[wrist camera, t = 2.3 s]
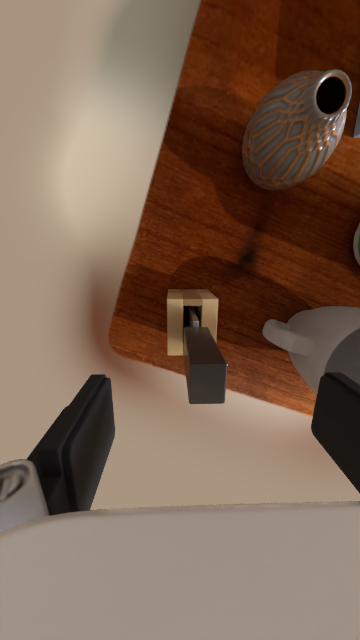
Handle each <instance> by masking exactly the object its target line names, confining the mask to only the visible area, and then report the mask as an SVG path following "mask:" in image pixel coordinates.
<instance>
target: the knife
mask: <svg viewBox="0 0 360 640" xmlns="http://www.w3.org/2000/svg"><path fill="white" fill-rule="evenodd" d="M184 362H185V370H186V379H187V388H188V397H189V403H190V404H218V403H219V404H221V403H224V402H225V390H226V376H227V363H226V361H225V360H224V358H223V356H222V354H221V352H220V350H219V348H218V346H217V344H216V342H215V340H214V338H213V336H212V334H211V332H210V330H209V328H208V327H199V321H198V319H197V316H196V314H195V311H194V309H193V306H186V327H184Z"/></svg>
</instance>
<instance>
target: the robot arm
mask: <svg viewBox="0 0 360 640" xmlns="http://www.w3.org/2000/svg"><path fill="white" fill-rule="evenodd" d="M311 429H312V433H313V435H314V436H315V437H316V439H317V440H318V441H319V443H320V444H321V445H322V446H323V448H324V449H325V450H326V451H327V453H328V454H329V455H330V456H331V458H332V459H333V460H334V461H335V463H336V464H337V465H338V466H339V468H340V469H341V470H342V471H343V473H344V474H345V475H346V476H347V478H348V479H349V480H350V482H351V483H352V484H353V485H354V487H355V488H356V489H357V490H358V492H359V493H360V385H359V384H358V383H356V382H355V381H353V380H352V379H350V378H349V377H347V376H346V375H344V374H343V373H341V372H326V373H325V374H324V375H323V376H321V378H320V382H319V387H318V393H317V398H316V403H315V408H314V414H313V419H312V424H311ZM114 435H115V424H114V413H113V401H112V390H111V380H110V378H106V375H91V376H90V377H89V379H88V380H87V381H86V383H85V384H84V385H83V387H82V388H81V390H80V391H79V392H78V394H77V395H76V397H75V398H74V399H73V401H72V402H71V403H70V405H69V406H67V407H65V409H63V411H62V412H61V413H60V415H59V416H58V417H57V419H56V420H55V422H54V423H53V424H52V426H51V427H50V428H49V430H48V431H47V432H46V434H45V435H44V436H43V438H42V439H41V440H40V442H39V443H38V444H37V446H36V447H35V449H34V450H33V451H32V453H31V454H30V455H29V457H28V458H27V459H18V460H13V461H9V462H7V463H4V464H2V465H0V640H360V501H349V502H306V503H305V502H304V503H303V502H302V503H263V504H229V505H228V504H225V505H196V506H195V505H194V506H163V507H162V506H161V507H139V508H120V509H99V510H90V508H91V505H92V502H93V499H94V496H95V493H96V490H97V487H98V484H99V481H100V478H101V475H102V472H103V469H104V466H105V463H106V460H107V457H108V455H109V452H110V449H111V446H112V442H113V440H114Z"/></svg>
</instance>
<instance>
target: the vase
mask: <svg viewBox="0 0 360 640" xmlns="http://www.w3.org/2000/svg"><path fill="white" fill-rule="evenodd" d="M351 94H352V86H351V82H350V79H349V77H348V76H347V75H346V74H345V73H344V72H343V71H341V70H338V69H332V70H328V71H326V72H323V71H318V70H307V71H301V72H298V73H296V74H293V75H291V76H289V77H287V78H286V79H284V80H283V81H281V82H280V83H278V84H277V85H276V86H275V87H273V88H272V89H271V90H270V91H269V92H268V93H267V94H266V95H265V97H264V98H263V99H262V100H261V101H260V103H259V104H258V106H257V107H256V109H255V111H254V112H253V114H252V116H251V118H250V120H249V122H248V125H247V127H246V130H245V134H244V138H243V144H242V160H243V165H244V168H245V171H246V173H247V175H248V176H249V178H250V179H251V180H252V181H253V182H254V183H255V184H256V185H257V186H259V187H261V188H263V189H267V190H274V191H277V190H285V189H289V188H291V187H294V186H296V185H298V184H300V183H302V182H304V181H305V180H307V179H308V178H310V177H311V176H312V175H314V174H315V173H316V172H317V171H318V170H319V169H320V168H321V167H322V166H323V165H324V164H325V162H326V161H327V160H328V159H329V157H330V156H331V154H332V153H333V151H334V150H335V148H336V146H337V144H338V142H339V140H340V138H341V135H342V133H343V129H344V126H345V121H346V111H347V107H348V105H349V102H350V99H351Z"/></svg>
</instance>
